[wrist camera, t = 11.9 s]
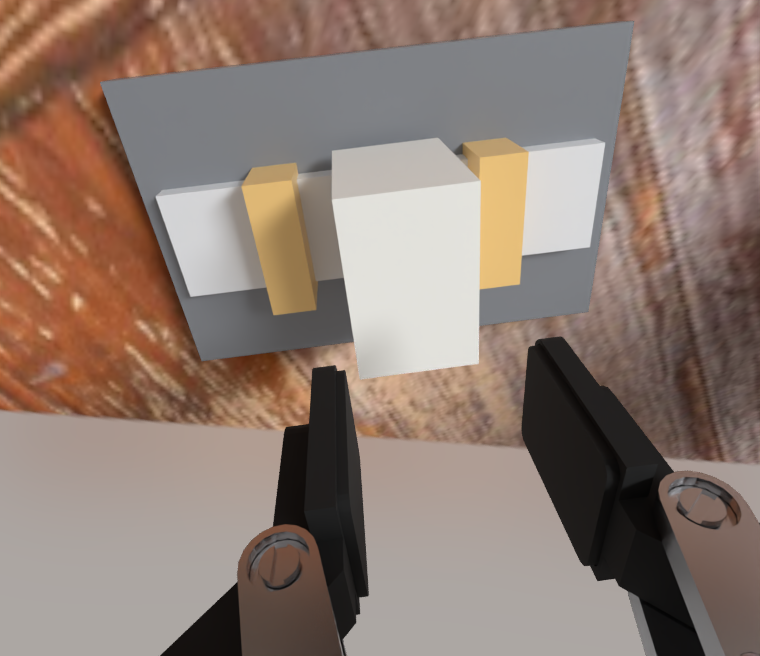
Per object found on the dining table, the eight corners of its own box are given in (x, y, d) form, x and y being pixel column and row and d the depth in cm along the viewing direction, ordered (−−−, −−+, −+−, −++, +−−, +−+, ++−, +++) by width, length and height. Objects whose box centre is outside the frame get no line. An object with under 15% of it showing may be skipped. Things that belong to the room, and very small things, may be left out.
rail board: (616, 21, 21) (678, 19, 17) (576, 299, 29) (614, 340, 25) (114, 79, 21) (64, 89, 17) (207, 346, 28) (188, 395, 24)
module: (438, 137, 21) (480, 180, 15) (443, 286, 24) (478, 367, 19) (331, 150, 21) (331, 199, 15) (353, 297, 24) (360, 383, 18)
